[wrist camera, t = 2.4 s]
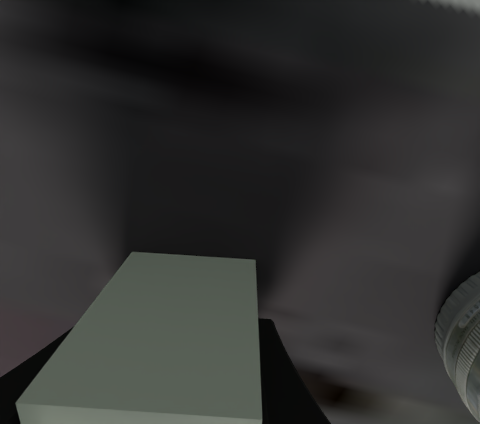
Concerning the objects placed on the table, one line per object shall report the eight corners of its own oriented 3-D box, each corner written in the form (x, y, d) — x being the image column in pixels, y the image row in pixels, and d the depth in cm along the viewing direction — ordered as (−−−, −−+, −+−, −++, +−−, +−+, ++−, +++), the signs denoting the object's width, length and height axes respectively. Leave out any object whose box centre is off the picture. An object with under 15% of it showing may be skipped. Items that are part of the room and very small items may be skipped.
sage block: (255, 259, 11) (262, 419, 6) (247, 356, 13) (246, 558, 7) (132, 251, 11) (15, 402, 6) (138, 349, 13) (51, 545, 7)
